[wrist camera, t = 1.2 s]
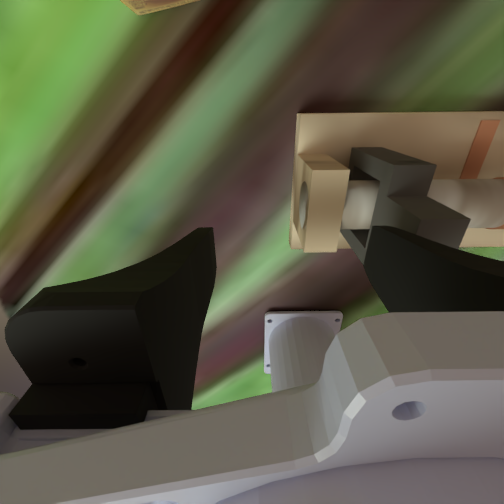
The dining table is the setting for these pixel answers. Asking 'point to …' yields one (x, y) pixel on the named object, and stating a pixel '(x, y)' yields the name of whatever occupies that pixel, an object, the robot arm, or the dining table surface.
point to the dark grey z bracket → (402, 199)
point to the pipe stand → (406, 142)
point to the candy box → (153, 5)
